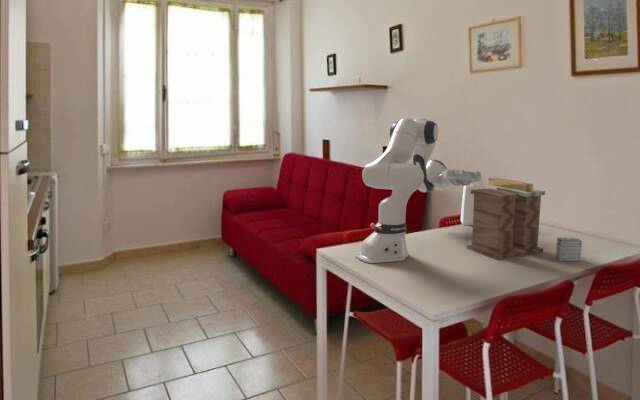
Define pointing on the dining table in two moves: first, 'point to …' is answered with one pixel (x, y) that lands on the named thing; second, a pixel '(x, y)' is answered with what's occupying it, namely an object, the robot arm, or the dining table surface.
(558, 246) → the medicine box
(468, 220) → the milk
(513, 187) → the oak bar
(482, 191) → the twin stand
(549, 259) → the dining table surface
